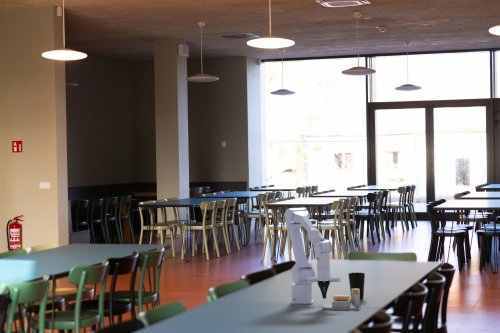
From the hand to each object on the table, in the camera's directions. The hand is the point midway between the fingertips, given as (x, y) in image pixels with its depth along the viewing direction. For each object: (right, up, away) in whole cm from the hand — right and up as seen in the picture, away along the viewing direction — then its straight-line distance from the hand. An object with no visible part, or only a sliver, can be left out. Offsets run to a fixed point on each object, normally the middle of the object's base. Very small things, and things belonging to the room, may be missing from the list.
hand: (324, 298), depth 353 cm
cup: (+17, -4, +19) cm, 26 cm away
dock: (+7, -4, -1) cm, 9 cm away
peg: (+15, -4, +5) cm, 16 cm away
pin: (+7, 0, -1) cm, 8 cm away
